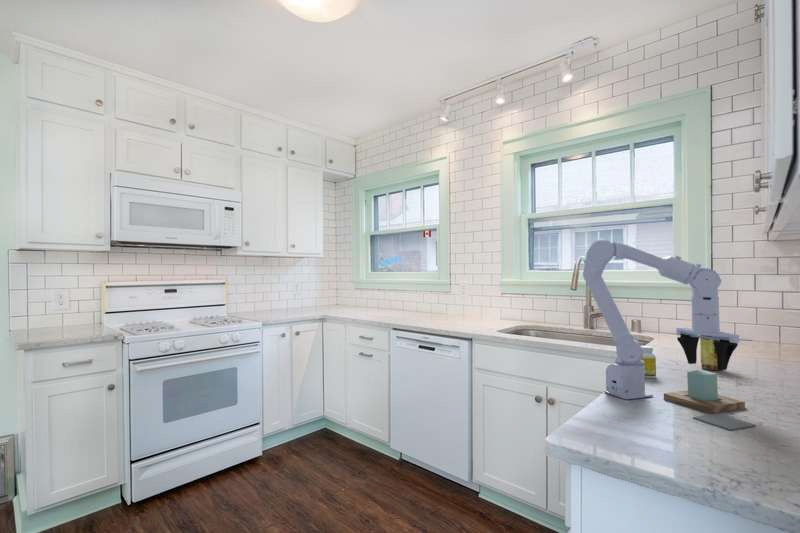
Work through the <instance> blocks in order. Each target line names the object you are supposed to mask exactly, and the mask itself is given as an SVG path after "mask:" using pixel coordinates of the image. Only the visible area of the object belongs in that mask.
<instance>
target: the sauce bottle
mask: <svg viewBox="0 0 800 533" xmlns="http://www.w3.org/2000/svg"><path fill="white" fill-rule="evenodd" d="M700 336H705V335H700ZM707 337H712V336H707ZM716 338H717V337H716ZM699 341H700V344H699V345H700V346H699V347H700V349H699V351H700V352H699V353H700V355H699V356H700V364H701V365H700V367H701V368H702V370H708V371H715V372H716V371H721V370H718V366H717V354H716V350H715V347H714V344H713V342H718V341H719V342H720V340H713V339H705V338H699Z"/></svg>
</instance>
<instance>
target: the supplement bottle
mask: <svg viewBox="0 0 800 533" xmlns="http://www.w3.org/2000/svg"><path fill="white" fill-rule="evenodd" d="M641 347H642V350H643V357H642V359H641V360H642V361H644V373H645V378H646V379H655V378H657V367H656V364H657V362H656V361H657V359H656V358H657V357H656V354H655V353H653V351H654V348H653V346H651V345H650V346H649V345H641Z"/></svg>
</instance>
